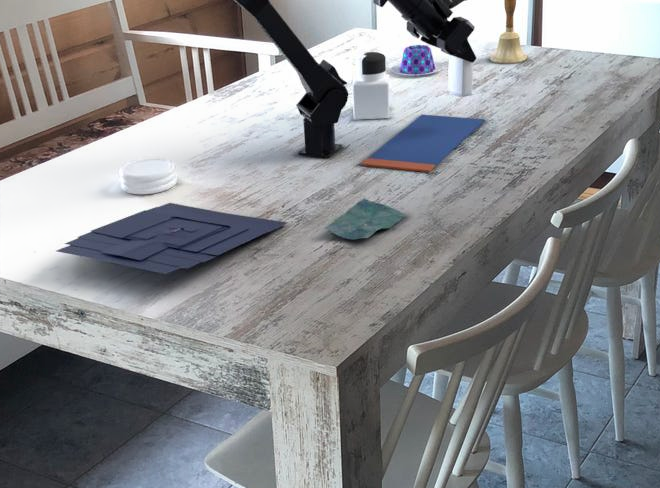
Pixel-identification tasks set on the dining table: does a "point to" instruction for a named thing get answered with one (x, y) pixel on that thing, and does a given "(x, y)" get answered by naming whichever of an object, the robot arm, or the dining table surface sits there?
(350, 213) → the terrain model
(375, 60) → the medicine bottle
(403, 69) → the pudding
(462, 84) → the eye dropper bottle
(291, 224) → the dining table surface
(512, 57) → the hand bell
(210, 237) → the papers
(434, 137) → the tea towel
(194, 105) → the dining table surface
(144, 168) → the white round disc stack
